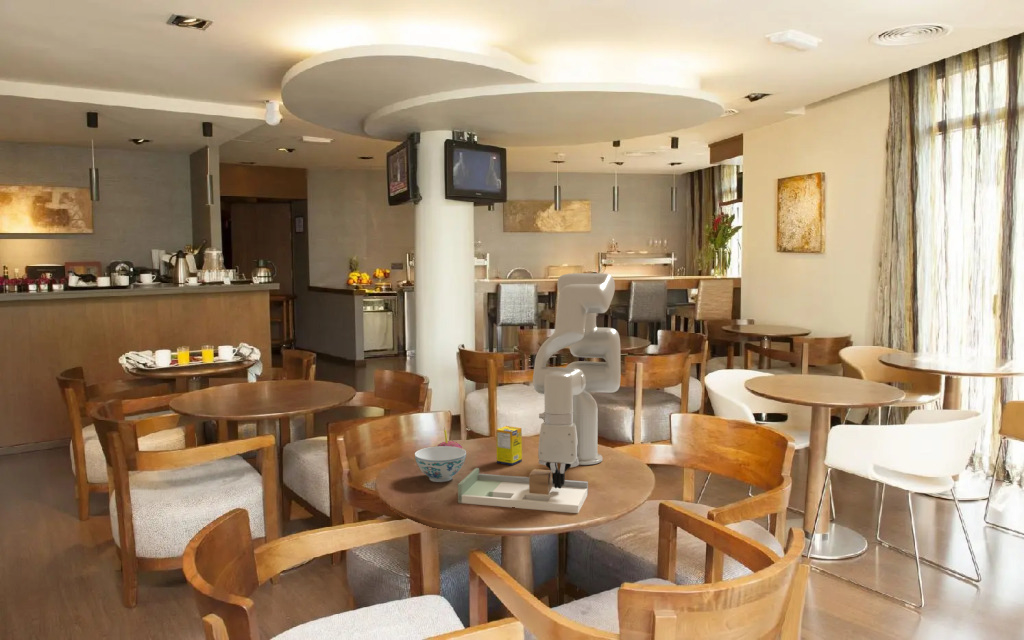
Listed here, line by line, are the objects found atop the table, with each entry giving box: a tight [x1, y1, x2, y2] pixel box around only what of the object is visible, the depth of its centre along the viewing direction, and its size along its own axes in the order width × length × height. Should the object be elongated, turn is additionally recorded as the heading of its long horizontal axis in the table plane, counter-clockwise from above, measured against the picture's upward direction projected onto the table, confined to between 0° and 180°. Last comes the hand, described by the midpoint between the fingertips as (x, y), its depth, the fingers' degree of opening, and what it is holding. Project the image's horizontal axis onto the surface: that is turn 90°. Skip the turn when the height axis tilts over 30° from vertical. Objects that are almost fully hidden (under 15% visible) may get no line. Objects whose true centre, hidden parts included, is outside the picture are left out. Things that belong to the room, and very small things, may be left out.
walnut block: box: [528, 468, 553, 494], centre depth 188 cm, size 5×5×5 cm
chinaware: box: [414, 445, 467, 483], centre depth 206 cm, size 15×15×8 cm
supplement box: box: [495, 425, 523, 466], centre depth 222 cm, size 6×6×11 cm
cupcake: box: [437, 427, 463, 449], centre depth 221 cm, size 9×8×12 cm
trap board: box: [457, 467, 589, 514], centre depth 188 cm, size 15×32×5 cm, turn 75°
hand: (558, 486), depth 187 cm, fingers closed
